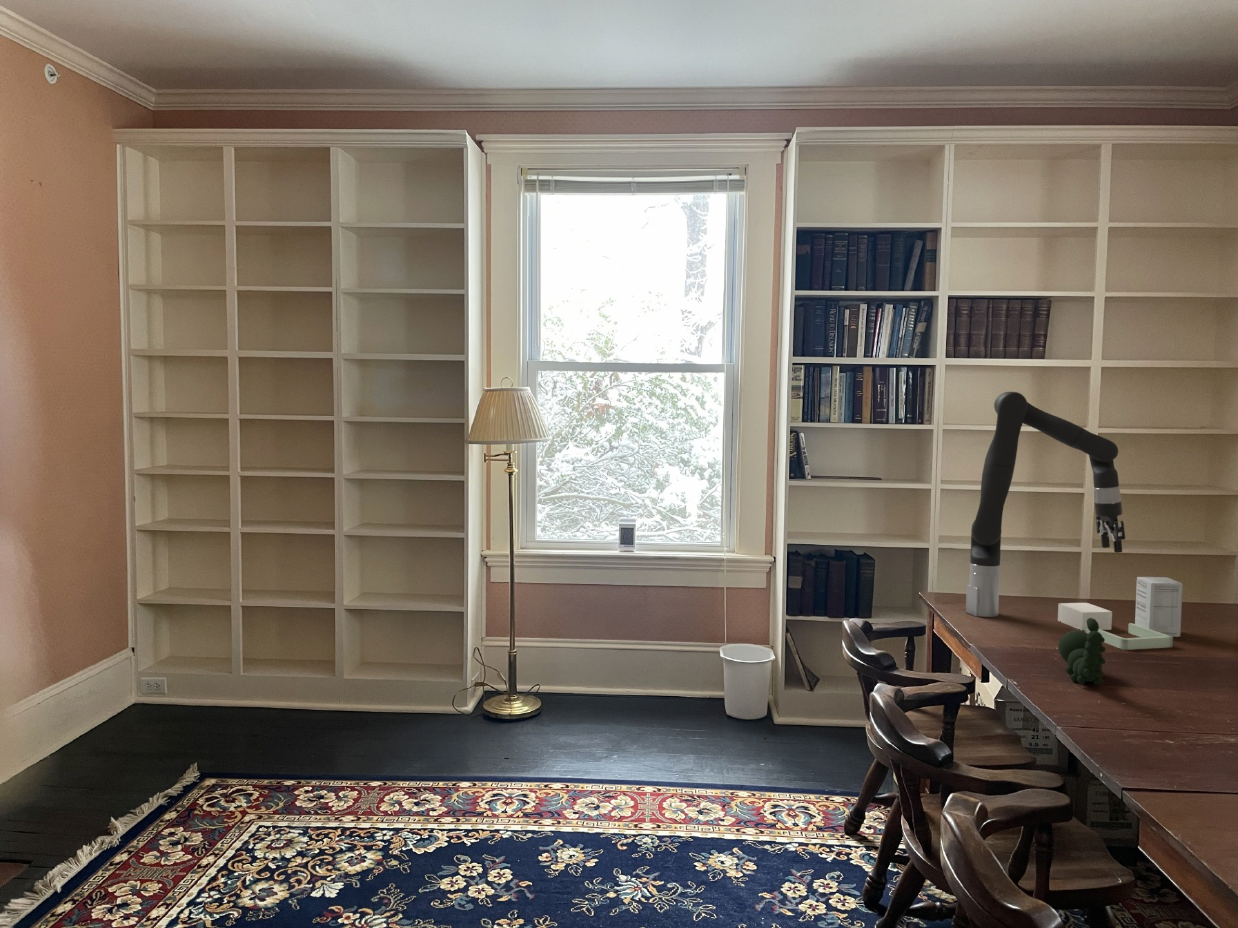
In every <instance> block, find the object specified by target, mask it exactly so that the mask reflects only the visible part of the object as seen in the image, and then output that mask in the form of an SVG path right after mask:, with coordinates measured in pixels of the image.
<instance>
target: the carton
mask: <svg viewBox="0 0 1238 928" xmlns="http://www.w3.org/2000/svg"><path fill="white" fill-rule="evenodd" d="M1057 606H1058V610H1057V621H1058V622H1060V621H1061V623H1062V624H1065V625H1067V626H1070V627H1072V628H1075V629H1077V630H1079V629H1080V630H1079V631H1082V630H1084V631H1083V632H1085V629H1086V626H1087V619H1088V618H1093V619H1095V620H1096V621H1097V622H1098V625H1099V629H1100V630H1103V631H1106V630H1108V631H1110V630H1112V623H1113V622H1112V621H1113V611H1111V610H1108V609H1105V608H1103V607H1100V606H1097V605H1094V604H1091V603H1088V602H1066V603H1065V602H1061V603H1058V605H1057Z"/></svg>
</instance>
